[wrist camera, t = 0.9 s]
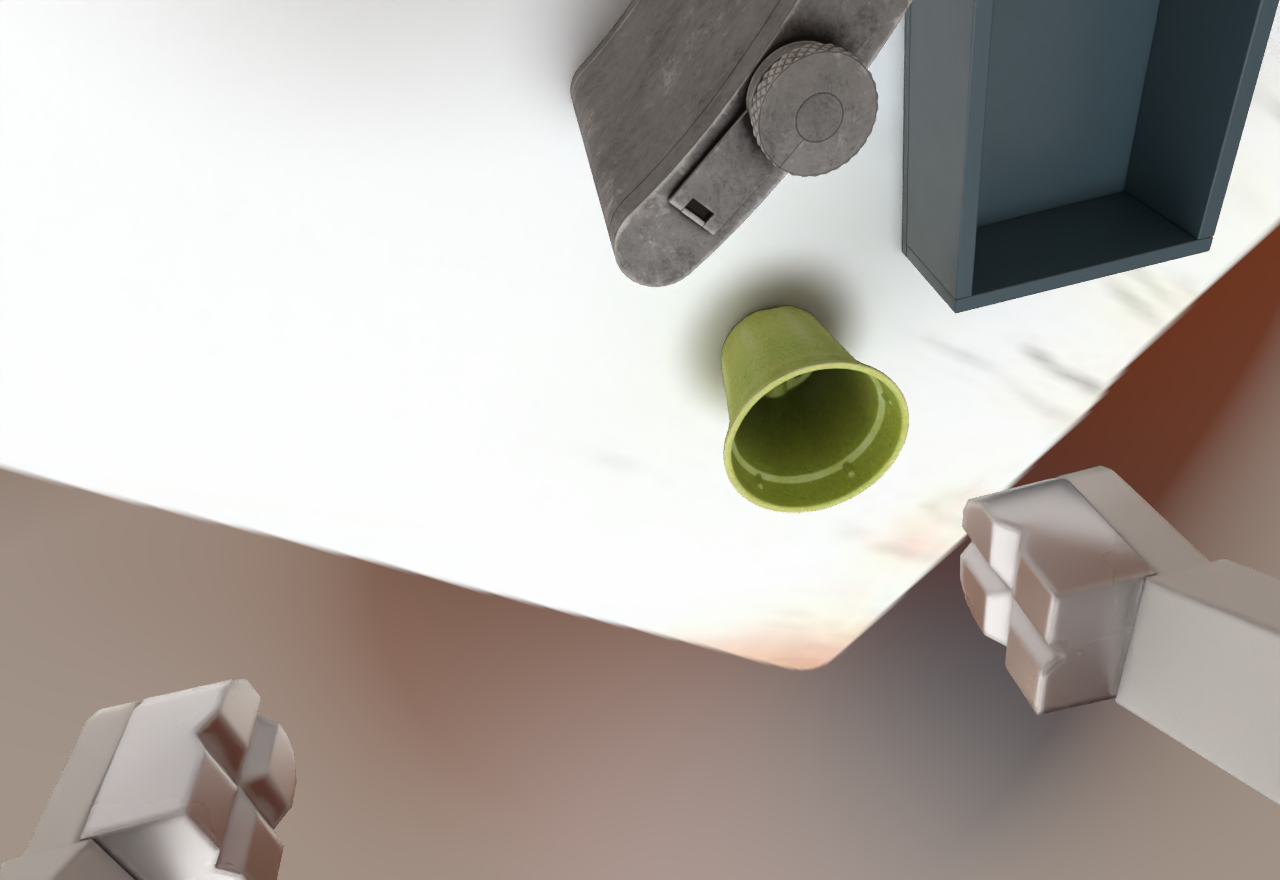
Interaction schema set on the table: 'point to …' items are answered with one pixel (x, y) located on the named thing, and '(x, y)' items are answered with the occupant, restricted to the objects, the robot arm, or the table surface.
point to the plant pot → (805, 414)
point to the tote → (1069, 136)
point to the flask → (720, 115)
